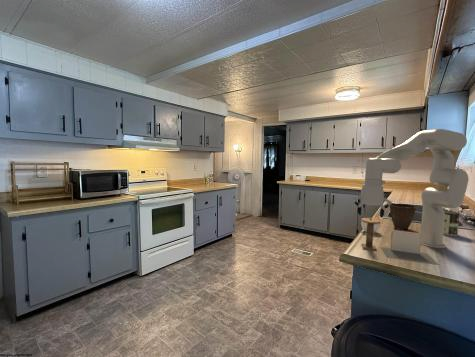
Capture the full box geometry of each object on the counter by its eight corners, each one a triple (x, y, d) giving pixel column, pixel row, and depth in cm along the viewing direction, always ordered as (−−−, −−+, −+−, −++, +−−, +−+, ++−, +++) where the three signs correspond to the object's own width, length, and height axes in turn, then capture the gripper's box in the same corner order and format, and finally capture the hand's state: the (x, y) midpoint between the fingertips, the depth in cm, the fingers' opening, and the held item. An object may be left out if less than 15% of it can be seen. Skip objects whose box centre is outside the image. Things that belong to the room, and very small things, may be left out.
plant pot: (382, 226, 164) (384, 204, 163) (396, 224, 170) (397, 202, 169) (405, 232, 151) (407, 208, 149) (419, 230, 157) (421, 206, 156)
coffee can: (456, 233, 152) (458, 211, 151) (458, 237, 144) (460, 214, 143) (435, 230, 159) (437, 209, 157) (436, 233, 150) (438, 211, 149)
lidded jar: (371, 235, 145) (372, 220, 144) (356, 230, 154) (357, 216, 154) (383, 233, 149) (384, 218, 148) (368, 228, 159) (368, 214, 158)
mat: (380, 247, 123) (380, 247, 123) (427, 254, 116) (427, 253, 116) (386, 258, 110) (386, 257, 110) (439, 265, 103) (439, 265, 103)
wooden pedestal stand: (361, 245, 126) (363, 220, 125) (374, 247, 124) (376, 221, 122) (363, 249, 120) (364, 223, 119) (376, 251, 118) (378, 224, 117)
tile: (390, 249, 121) (391, 230, 120) (418, 253, 116) (420, 233, 116) (390, 250, 119) (392, 231, 118) (419, 254, 115) (421, 234, 114)
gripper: (391, 183, 119) (388, 216, 121) (353, 180, 126) (350, 212, 127) (394, 184, 112) (391, 219, 114) (354, 181, 119) (352, 215, 120)
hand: (370, 215), depth 120 cm, fingers open, 9 cm apart
